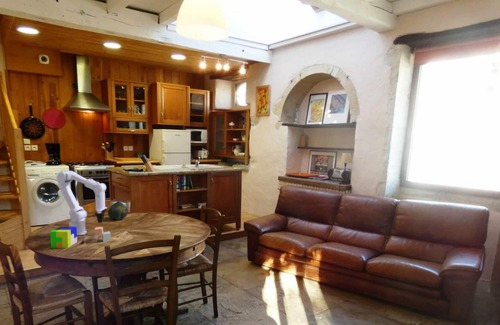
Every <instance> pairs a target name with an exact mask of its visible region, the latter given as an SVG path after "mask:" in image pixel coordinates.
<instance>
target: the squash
mask: <svg viewBox="0 0 500 325" xmlns="http://www.w3.org/2000/svg"><path fill="white" fill-rule="evenodd" d="M128 213H129V210H128V208H127V206H126V205H125V204H124V203H123V202H122V201H121V200H117V201H116V202H114V203H112V204H111V205H110V206H109V208H108V211H107V215H108V217H109V219H111V220H116V221H119V220H123V219H124V218H126V217H127V216H128Z"/></svg>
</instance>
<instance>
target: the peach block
mask: <svg viewBox="0 0 500 325" xmlns="http://www.w3.org/2000/svg"><path fill="white" fill-rule="evenodd" d="M102 232H104V227H103V226H96V227H95V228H94V235H98V237H102Z"/></svg>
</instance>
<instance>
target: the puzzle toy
mask: <svg viewBox="0 0 500 325" xmlns="http://www.w3.org/2000/svg"><path fill="white" fill-rule="evenodd" d="M76 243H78V235H77V227H69V226H59V227H57V228H55V229H53V230H50V247H51V249H56V248H57V249H59V248H60V249H64V248H65V249H66V248H67V249H68V248H70V247H72V246H73V245H75V244H76Z"/></svg>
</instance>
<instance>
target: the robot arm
mask: <svg viewBox="0 0 500 325" xmlns="http://www.w3.org/2000/svg"><path fill="white" fill-rule="evenodd" d="M73 180H74V181H76V182H78V183H81V184H83V185H84V187H86V188H89V189H90V190H93V192H94V196H95V211H96V212H95V213H94V215H95V216H96V220H97V223H98V224H101V223H103V220H104V217H105V213H106V210H107V209H108V207H107V206H106V193H105V192H106V190H107V185H106V184H105V183H103V182H101V183H100V182H99V181H95V180H94V179H93V178H88V179H87V178H85V177H83V176H82V175H79V174H78V173H76V172H75V171H73V170H67V171H59V172H58V173H57V175H56V181H57V185H58V188H59V190H60V192H61V194H62V196H63V197H64V200H65V202H66V203H67V205H68V208H69V209H70V210H69V213H68V214H69V218H70V221H69V223H68V227H77V236H81V235H82V236H84V235H85V236H86V234H87V231H88V230H86V218H87V216H88V212H87V211H86V210H85V209H84V207H83V206H80V205H79V203H78V201H77V199H76V197H75V195H74V194H73V191H72V190H71V187H70V183H71V182H72V181H73Z"/></svg>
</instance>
